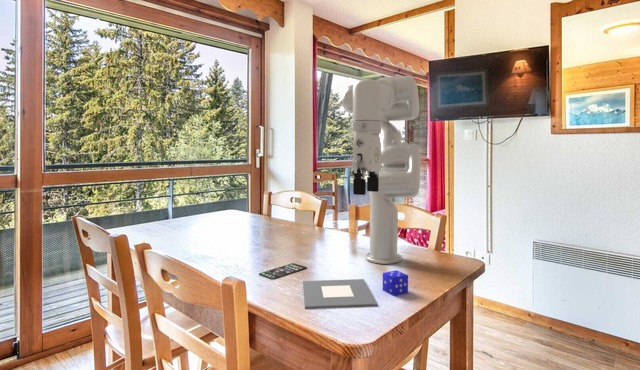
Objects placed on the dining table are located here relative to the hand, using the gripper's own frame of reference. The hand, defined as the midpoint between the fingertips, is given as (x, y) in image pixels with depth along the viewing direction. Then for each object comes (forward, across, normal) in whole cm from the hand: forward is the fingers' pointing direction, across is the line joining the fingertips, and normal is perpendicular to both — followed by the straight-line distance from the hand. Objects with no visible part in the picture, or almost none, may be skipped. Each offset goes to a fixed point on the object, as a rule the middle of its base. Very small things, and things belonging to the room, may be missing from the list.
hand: (366, 192), depth 102 cm
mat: (+27, -5, +6) cm, 28 cm away
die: (+27, +4, -7) cm, 29 cm away
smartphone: (+28, +4, +30) cm, 41 cm away
